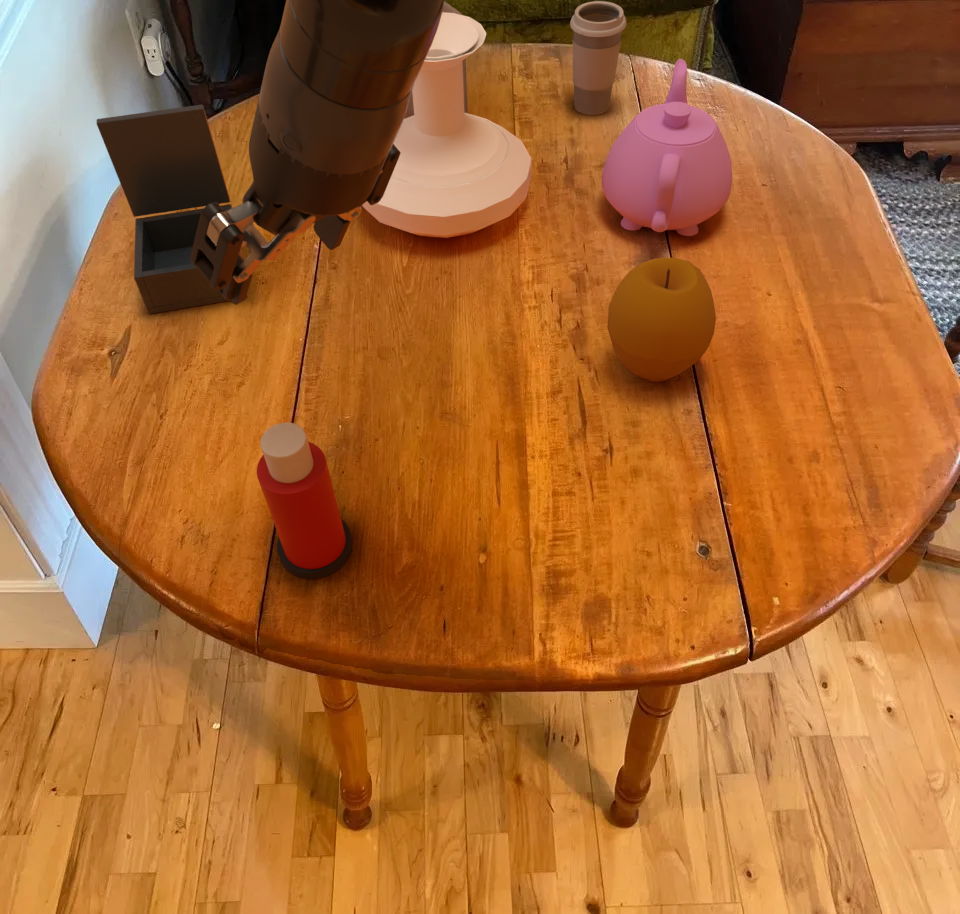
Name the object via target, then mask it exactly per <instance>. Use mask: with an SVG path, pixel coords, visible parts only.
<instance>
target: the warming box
mask: <svg viewBox="0 0 960 914" xmlns="http://www.w3.org/2000/svg"><path fill="white" fill-rule="evenodd" d="M220 206H221V207H222V209H223V210H224V211H227V210H229V209H232V208H233V205H232V203H229V204H228V203H227V204H222V205H220ZM204 208H205V207H203V208H202V207H201V208H196V209H190V210H189V209H188V210H184V211H183V210H182V211H176V212H170V213H162V214H156V215H150V216H143V217H137V218H135V219H134V220H135V221H134V222H135V225H134V263H133V266H134V267H133V279H134V281H135V283H136V286H137V288H138V291H139V293H140V296H141V298H142V300H143V303H144V306H145V308H146V310H147V312H148V315H152V314H159V313H165V312H171V311H176V310H183V309H188V308H194V307H200V306H207V305H212V304H219V303H224V302H225V303H226V302H227V300H226V299H225V298H224V297H223V295H222V294H221V293H220V292H219V291H215V290H214V289H213V288H212V286H211V285H210V283H209V282H208V280H207V279H206V278H205V277H204V276H203V274H202V273H201V272H200V271H199V270H198V268H197V267H195V266H194V265H193V263H192V262H191V261H190V256H191V252H192V248H193V244H194V240H195V235H196V231H197V227H198V223H199V219H200V215H201V212H202V210H203V209H204ZM243 250H244V249H243V247H241V249H240V252H239V255H240V256H241V257H242V259H243V260H244V251H243ZM246 299H248V294H247V295H246ZM229 302H232V301H231V300H230V301H229Z"/></svg>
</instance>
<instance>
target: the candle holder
mask: <svg viewBox="0 0 960 914" xmlns="http://www.w3.org/2000/svg"><path fill="white" fill-rule="evenodd" d="M486 36H487V32H486V30H485V28H484V27H483V25H482V24H481V23H480V22H478V21H477V20H475V19H474V18H472V17H471V16H467V15H464V14H462V15H459V14H455V13H444V12H442V15H441V19H440V22H439V26H438V29H437V32H436V34H435V37H434V40H433V42H432V45H431V47H430V49H429V51H428V54H427V56H426V58H425V60H424V63H423V65H422V67H421V70H420V72H419V74H418V76H417V79H416V81H415V83H414V86H413V89H412V94H413V106H414V115H413V116H411V117H408V118H406V119H404V120H403V123H402V125H401V127H400V130H399V132H398V134H397V136H396V138H395V141H394V143H393V144H394V145H395V146H396V147H397V149H398V150H399V151H400V156H399V159H398V161H397V163H396V166H395V168H394V171H393V173H392V176H391V178H390V181H389V183H388V185H387V188H386V190H385V193H384V195H383V197H382V198H381V200H380V201H379V202H378V203H376V204H374V205H370V204H369V203H368V202H365V203H364V204H363V205H361V207H362V208H364V210H366V212H368V213H369V214H370V215H371V216H372V217H374V219H376V221H378V223H380V224H383V225H386V226H389V227H393V228H396V229H398V230H401V231H404V232H407V233H410V234H412V235H416V236H419V237H430V238H440V239H441V238H443V239H448V238H453V237H459V236H465V235H469V234H474V233H476V232H478V231H480V230H482V229H484V228H487V227H489V226H491V225H494V224H496V223H498V222H500V221H502V220H504V219H506V218H509V217H511V216H512V214H513V213H515V211H516V210H517V209H518V208H519V207H520V205H521V204H522V203H524V201H525V200H526V199H527V197H528V193H529V188H530V185H531V181H532V180H531V179H532V160H533V159H532V157H531V156H530V153H529V151H528V150H527V148H526V146H525V145H524V143H523V141H522V140H521V139H520V138H518V137H517V136H516V135H514V134H512V132H510V131H508V130H507V129H506V128H504V127H503V126H502V125H499V124H497V123H495V122H493V121H491V120H490V119H488V118H485V117H481V116H478V115H475V114H471V113H464V90H463V64H462V60H464V59H465V58H466V59H467V58H468V57H469V56H470V55H472V54H473V53H474V52H475V51H476V50H478V49H479V48H480V47H481V46H483V45H484V43H485V40H486Z"/></svg>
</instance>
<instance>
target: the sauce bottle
mask: <svg viewBox="0 0 960 914" xmlns="http://www.w3.org/2000/svg"><path fill="white" fill-rule="evenodd" d="M259 445H260V448H261V452H262V455H261V457H260V458H259V460H258V462H257V465H256V477H257V480H258V484H259V486H260V488H261V491H262V494H263V496H264V499H265V502H266V505H267V508H268V511H269V513H270V516H271V518H272V522H273V524H274V527H275V530H276V533H277V535H278V538H280V541H281V544H282V547H283V550H284V552H285V555H286V557H287V558H288V560H289V561H290V562H291V563H293V564H294V565H296V566H298V567H301V568H305V569H317V568H321V567H324V566H327V565H329V564H330V563H332V562H333V561H335V560H336V559H337V558H338V557H339V556H340V554H341V553H342V551H343V549H344V547H345V541H346V538H345V533H344V529H343V525H342V521H341V519H342V518H341V513H340V510H339V505H338V502H337V497H336V494H335V490H334V486H333V482H332V478H331V473H330V469H329V466H328V461H327V457H326V455H325V453H324V451H323V450H322V449H321V448H320V447H319V446H317V444H315V443H312V442H311V441H309V439H308V435H307V433H306V431H305V429H304V428H303V427H301V425H299V424H297V423H294V422H280V423H277V424H274V425H272V426H270V427H269V428H267V429H266V430H265V431H264V432H263V433H262V436H261V438H260V442H259Z"/></svg>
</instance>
